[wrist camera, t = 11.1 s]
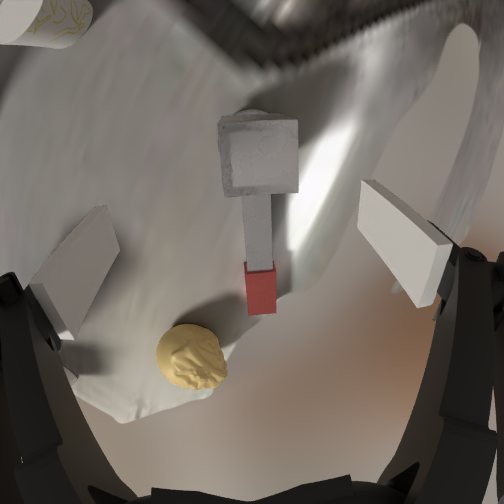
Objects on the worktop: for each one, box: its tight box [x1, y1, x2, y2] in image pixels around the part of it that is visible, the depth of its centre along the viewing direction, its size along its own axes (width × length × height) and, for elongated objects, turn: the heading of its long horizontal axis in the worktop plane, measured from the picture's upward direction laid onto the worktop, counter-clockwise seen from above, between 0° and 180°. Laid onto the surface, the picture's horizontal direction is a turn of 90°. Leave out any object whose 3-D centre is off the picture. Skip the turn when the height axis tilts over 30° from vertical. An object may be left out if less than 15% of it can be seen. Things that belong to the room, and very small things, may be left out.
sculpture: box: [156, 324, 227, 390], centre depth 46 cm, size 11×12×11 cm
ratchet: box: [218, 109, 276, 315], centre depth 36 cm, size 30×8×8 cm, turn 3°
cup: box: [0, 0, 93, 49], centre depth 16 cm, size 8×8×12 cm
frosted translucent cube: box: [218, 113, 298, 198], centre depth 27 cm, size 7×7×9 cm
